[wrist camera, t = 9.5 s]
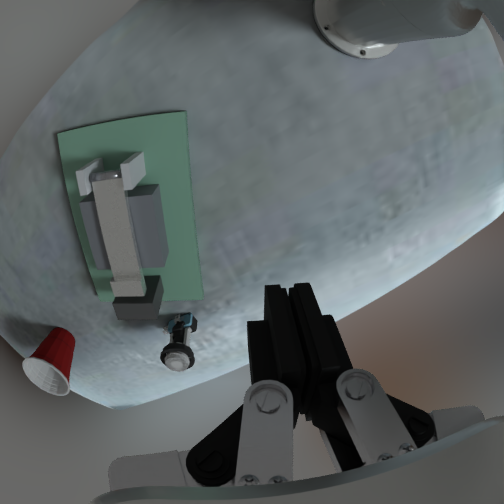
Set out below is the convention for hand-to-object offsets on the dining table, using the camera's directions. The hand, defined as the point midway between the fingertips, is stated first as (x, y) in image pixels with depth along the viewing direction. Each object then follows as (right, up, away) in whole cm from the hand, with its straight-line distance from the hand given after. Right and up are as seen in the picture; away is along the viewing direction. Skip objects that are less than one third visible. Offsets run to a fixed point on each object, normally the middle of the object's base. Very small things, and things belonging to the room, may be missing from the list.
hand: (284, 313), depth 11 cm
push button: (-14, -10, +39) cm, 42 cm away
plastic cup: (-41, -15, +40) cm, 59 cm away
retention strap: (-18, +5, +23) cm, 29 cm away
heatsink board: (-18, +7, +28) cm, 34 cm away
